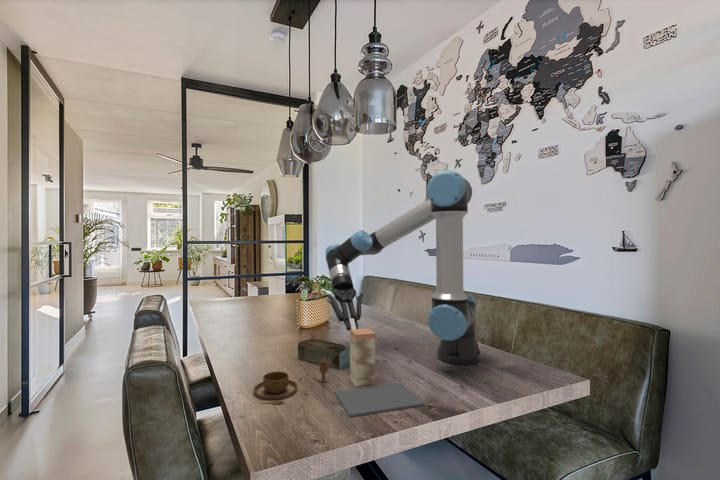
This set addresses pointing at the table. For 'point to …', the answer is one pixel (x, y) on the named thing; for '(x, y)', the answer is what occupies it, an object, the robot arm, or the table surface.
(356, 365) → the birch block
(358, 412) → the rubber mat
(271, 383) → the place setting
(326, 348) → the beverage carton
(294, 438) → the table surface
